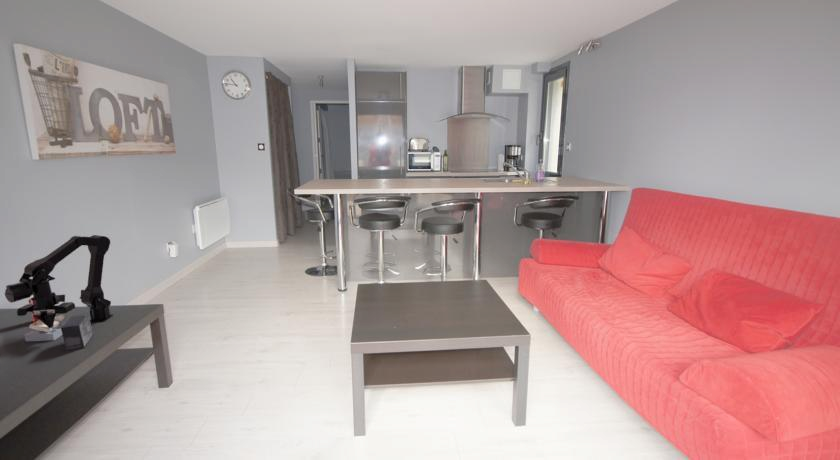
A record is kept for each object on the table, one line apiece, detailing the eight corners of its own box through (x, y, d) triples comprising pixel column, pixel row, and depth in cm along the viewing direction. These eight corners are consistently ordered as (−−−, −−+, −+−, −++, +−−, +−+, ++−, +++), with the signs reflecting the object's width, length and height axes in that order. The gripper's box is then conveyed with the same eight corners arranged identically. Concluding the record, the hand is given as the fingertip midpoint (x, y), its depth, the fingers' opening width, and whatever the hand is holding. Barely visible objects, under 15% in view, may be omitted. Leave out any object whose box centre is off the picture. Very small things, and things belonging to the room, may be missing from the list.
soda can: (31, 321, 187) (25, 297, 184) (45, 317, 191) (40, 293, 188) (36, 324, 184) (30, 299, 181) (51, 319, 189) (45, 295, 186)
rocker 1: (52, 329, 173) (52, 326, 172) (47, 332, 170) (48, 328, 170) (34, 325, 171) (34, 321, 171) (29, 328, 169) (29, 324, 169)
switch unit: (73, 327, 181) (71, 319, 180) (54, 340, 171) (52, 331, 170) (46, 328, 180) (44, 320, 179) (25, 341, 170) (23, 332, 169)
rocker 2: (58, 325, 176) (58, 321, 176) (54, 327, 174) (54, 324, 173) (40, 322, 175) (41, 318, 175) (36, 324, 173) (36, 321, 172)
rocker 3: (64, 317, 179) (63, 314, 179) (60, 320, 177) (58, 316, 176) (49, 322, 179) (47, 318, 178) (44, 324, 176) (42, 321, 176)
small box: (75, 338, 172) (70, 315, 169) (94, 336, 174) (89, 313, 172) (64, 351, 162) (59, 327, 160) (84, 348, 165) (79, 324, 162)
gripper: (80, 284, 176) (88, 317, 180) (33, 286, 174) (42, 320, 178) (60, 294, 165) (69, 329, 169) (11, 297, 164) (20, 332, 167)
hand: (51, 327), depth 171 cm, fingers closed
